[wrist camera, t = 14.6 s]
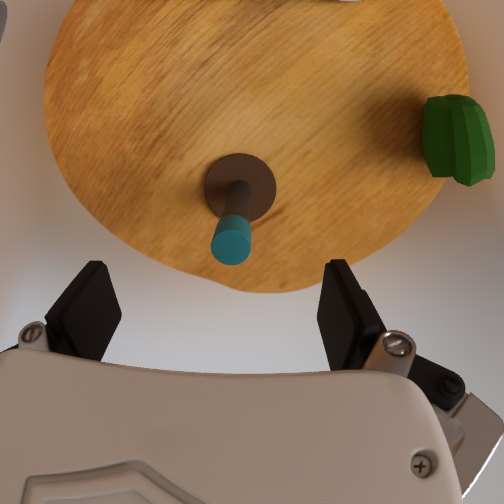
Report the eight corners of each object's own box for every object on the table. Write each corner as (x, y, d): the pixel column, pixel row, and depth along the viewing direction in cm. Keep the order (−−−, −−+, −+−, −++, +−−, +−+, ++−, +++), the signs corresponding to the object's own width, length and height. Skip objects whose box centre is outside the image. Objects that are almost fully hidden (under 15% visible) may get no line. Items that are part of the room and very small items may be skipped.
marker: (229, 200, 27) (212, 265, 16) (228, 179, 26) (209, 229, 15) (252, 200, 27) (250, 265, 16) (252, 178, 26) (250, 229, 15)
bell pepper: (418, 108, 17) (429, 209, 22) (502, 109, 12) (500, 209, 17) (409, 91, 22) (423, 171, 27) (475, 90, 17) (481, 170, 22)
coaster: (207, 221, 28) (206, 223, 28) (203, 154, 25) (202, 155, 24) (275, 221, 28) (275, 223, 28) (276, 153, 25) (277, 154, 24)
